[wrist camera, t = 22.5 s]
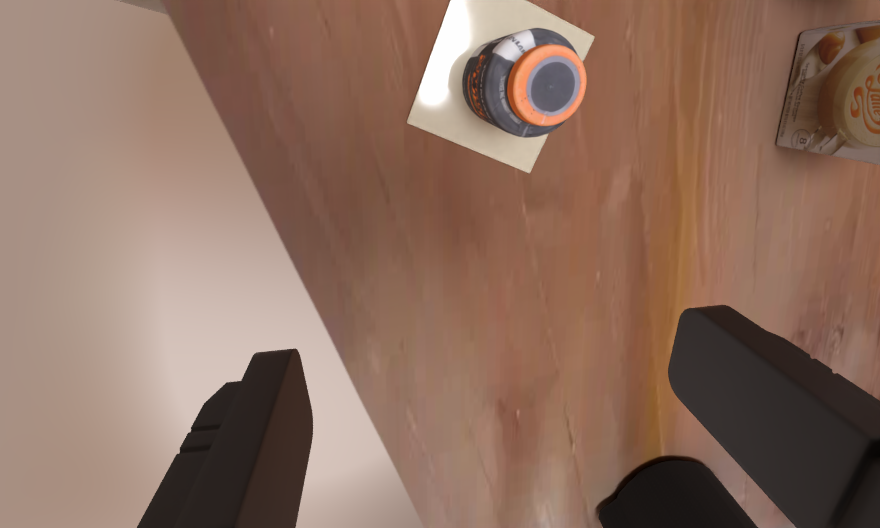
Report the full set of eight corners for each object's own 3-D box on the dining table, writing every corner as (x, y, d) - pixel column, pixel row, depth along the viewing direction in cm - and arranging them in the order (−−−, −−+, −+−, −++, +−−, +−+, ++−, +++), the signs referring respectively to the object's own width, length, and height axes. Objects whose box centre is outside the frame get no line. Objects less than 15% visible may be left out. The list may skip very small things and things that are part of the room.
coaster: (406, 122, 33) (406, 122, 33) (461, -32, 29) (462, -34, 29) (528, 172, 36) (529, 173, 35) (592, 37, 32) (595, 36, 32)
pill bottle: (452, 52, 31) (484, 40, 21) (529, 28, 31) (600, 4, 21) (471, 133, 34) (509, 158, 23) (543, 111, 33) (612, 126, 23)
